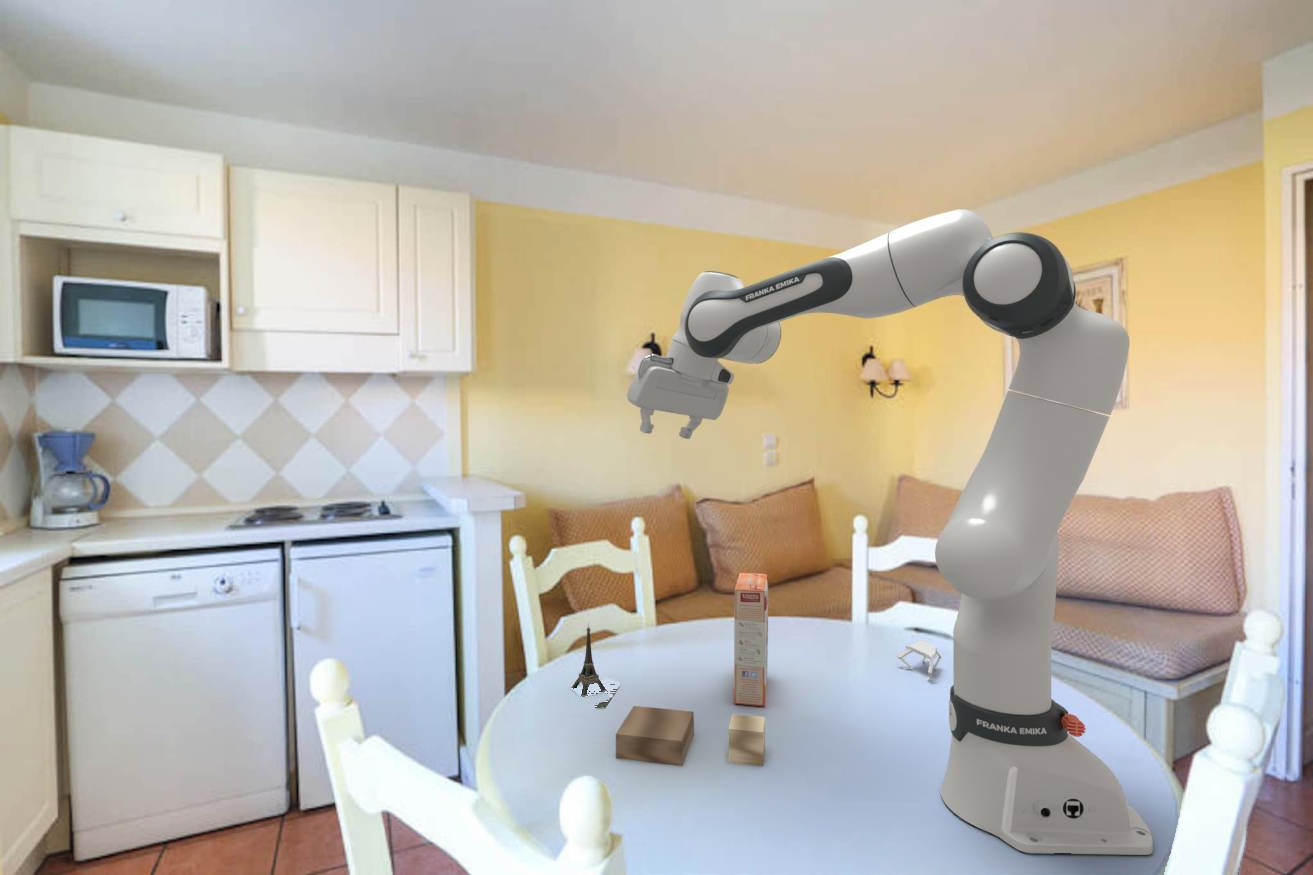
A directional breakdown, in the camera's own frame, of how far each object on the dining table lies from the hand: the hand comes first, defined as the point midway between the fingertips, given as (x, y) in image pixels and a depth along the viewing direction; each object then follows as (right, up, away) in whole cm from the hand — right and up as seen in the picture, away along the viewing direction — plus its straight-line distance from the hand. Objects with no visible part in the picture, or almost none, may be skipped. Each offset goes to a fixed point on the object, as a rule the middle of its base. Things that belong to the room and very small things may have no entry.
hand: (665, 435), depth 112 cm
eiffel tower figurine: (-14, -49, +5) cm, 51 cm away
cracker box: (+16, -48, +4) cm, 51 cm away
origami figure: (+52, -48, +13) cm, 72 cm away
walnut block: (-2, -49, -16) cm, 51 cm away
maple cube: (+12, -48, -19) cm, 53 cm away
